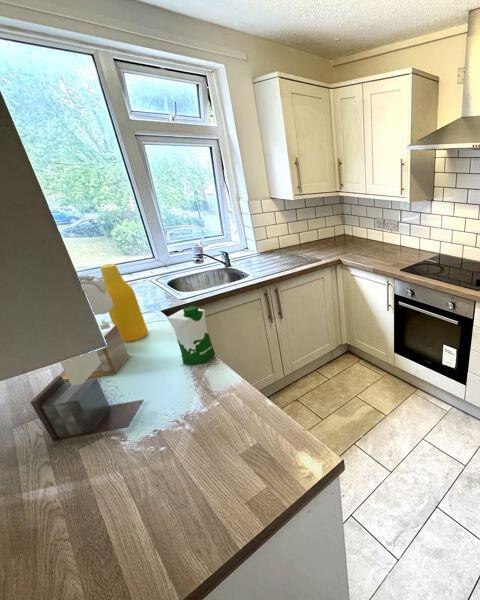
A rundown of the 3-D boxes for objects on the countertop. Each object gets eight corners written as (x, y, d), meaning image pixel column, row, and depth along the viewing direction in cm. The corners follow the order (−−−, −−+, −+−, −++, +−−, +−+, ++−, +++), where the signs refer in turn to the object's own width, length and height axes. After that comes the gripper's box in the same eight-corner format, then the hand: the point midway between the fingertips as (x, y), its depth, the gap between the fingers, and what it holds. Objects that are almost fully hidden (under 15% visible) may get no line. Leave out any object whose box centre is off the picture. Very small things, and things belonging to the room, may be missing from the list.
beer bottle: (146, 339, 126) (120, 267, 114) (116, 344, 123) (86, 271, 111) (150, 328, 134) (127, 260, 122) (122, 333, 130) (95, 263, 118)
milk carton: (201, 368, 110) (185, 314, 101) (178, 364, 111) (161, 312, 103) (219, 353, 117) (206, 303, 109) (197, 350, 119) (183, 301, 111)
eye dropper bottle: (104, 354, 116) (91, 325, 112) (110, 346, 121) (98, 317, 116) (119, 352, 118) (107, 322, 113) (124, 344, 123) (113, 315, 118)
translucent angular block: (54, 383, 102) (35, 347, 97) (74, 363, 111) (58, 330, 106) (115, 374, 106) (101, 339, 101) (129, 355, 116) (117, 323, 111)
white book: (71, 385, 78) (44, 330, 72) (91, 364, 86) (68, 313, 79) (82, 384, 78) (56, 329, 72) (101, 363, 86) (79, 311, 80)
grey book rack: (52, 444, 81) (28, 403, 75) (77, 413, 90) (57, 375, 85) (129, 430, 85) (111, 390, 80) (145, 402, 95) (130, 364, 89)
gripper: (107, 270, 77) (126, 321, 83) (-6, 277, 71) (23, 332, 77) (93, 279, 72) (115, 333, 77) (-30, 288, 66) (3, 346, 72)
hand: (68, 333), depth 77 cm, fingers closed on white book, 2 cm apart
